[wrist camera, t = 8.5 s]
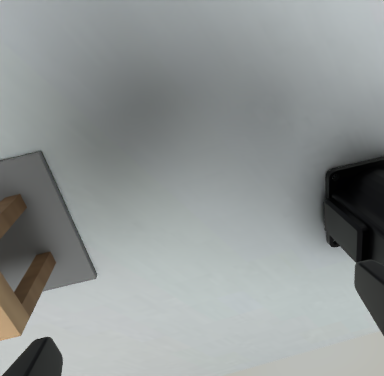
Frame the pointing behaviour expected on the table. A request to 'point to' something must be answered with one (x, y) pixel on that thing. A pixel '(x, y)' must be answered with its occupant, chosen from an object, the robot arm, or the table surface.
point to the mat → (40, 226)
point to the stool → (31, 282)
